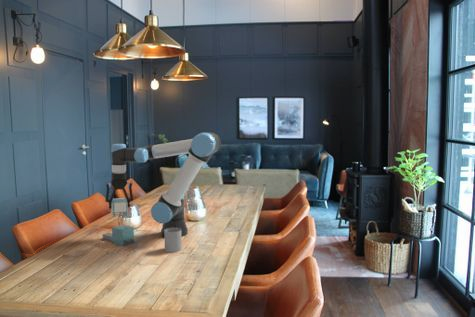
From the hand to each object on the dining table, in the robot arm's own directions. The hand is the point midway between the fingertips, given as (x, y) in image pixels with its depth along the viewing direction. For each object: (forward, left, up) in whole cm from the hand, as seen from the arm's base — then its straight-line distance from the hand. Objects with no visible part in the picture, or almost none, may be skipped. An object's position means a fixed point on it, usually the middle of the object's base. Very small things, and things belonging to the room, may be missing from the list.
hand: (119, 213), depth 219 cm
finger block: (0, 0, 0) cm, 0 cm away
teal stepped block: (-3, +4, -14) cm, 15 cm away
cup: (-38, -4, -14) cm, 41 cm away
